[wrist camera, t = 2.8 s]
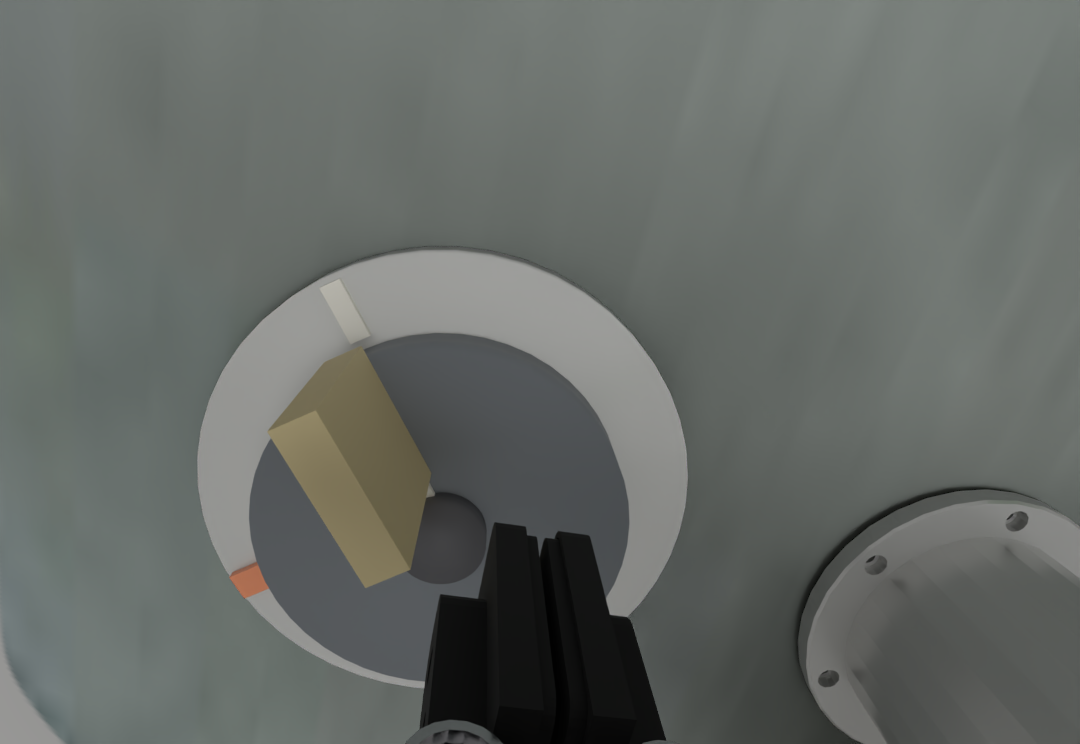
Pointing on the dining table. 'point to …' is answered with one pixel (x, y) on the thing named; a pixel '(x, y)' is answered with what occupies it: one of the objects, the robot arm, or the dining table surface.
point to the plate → (455, 308)
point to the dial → (423, 488)
